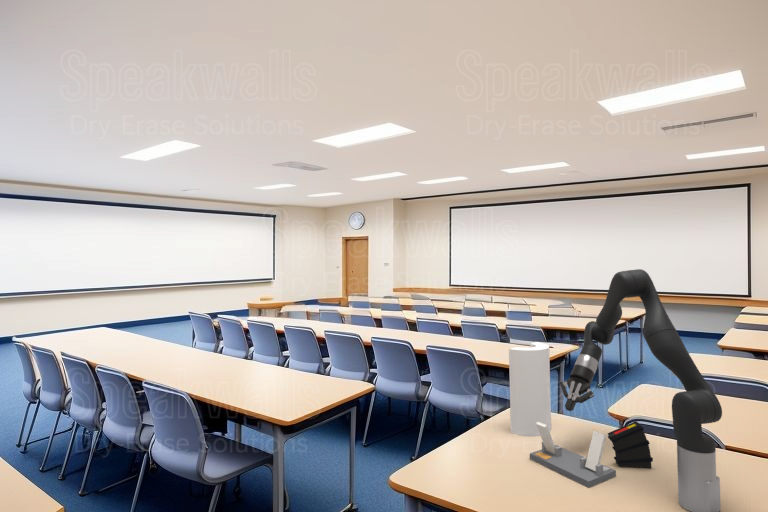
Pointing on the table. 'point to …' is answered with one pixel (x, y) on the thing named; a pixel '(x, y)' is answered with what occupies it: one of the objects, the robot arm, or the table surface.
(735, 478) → the table surface
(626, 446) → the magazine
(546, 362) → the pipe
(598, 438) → the inner lever
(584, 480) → the switch panel
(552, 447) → the outer lever
